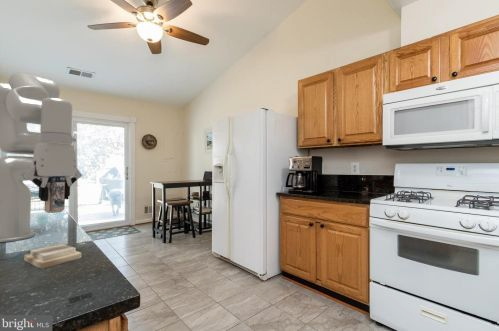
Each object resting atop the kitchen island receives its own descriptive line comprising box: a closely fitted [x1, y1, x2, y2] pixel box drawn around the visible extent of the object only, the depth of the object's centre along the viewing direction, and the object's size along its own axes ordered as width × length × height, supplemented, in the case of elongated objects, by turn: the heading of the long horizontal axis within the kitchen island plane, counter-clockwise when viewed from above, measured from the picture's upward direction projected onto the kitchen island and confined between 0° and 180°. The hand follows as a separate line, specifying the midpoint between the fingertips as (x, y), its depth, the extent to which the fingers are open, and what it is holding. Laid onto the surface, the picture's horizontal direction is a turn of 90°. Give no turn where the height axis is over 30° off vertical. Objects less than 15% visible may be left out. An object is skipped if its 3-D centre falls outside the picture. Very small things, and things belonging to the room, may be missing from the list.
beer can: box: [43, 174, 66, 214], centre depth 75 cm, size 5×5×12 cm
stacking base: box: [23, 243, 83, 270], centre depth 75 cm, size 12×10×3 cm
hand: (54, 199), depth 75 cm, fingers closed on beer can, 4 cm apart
